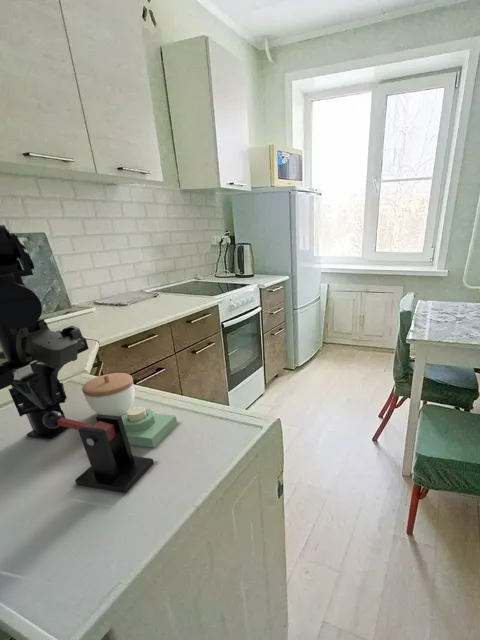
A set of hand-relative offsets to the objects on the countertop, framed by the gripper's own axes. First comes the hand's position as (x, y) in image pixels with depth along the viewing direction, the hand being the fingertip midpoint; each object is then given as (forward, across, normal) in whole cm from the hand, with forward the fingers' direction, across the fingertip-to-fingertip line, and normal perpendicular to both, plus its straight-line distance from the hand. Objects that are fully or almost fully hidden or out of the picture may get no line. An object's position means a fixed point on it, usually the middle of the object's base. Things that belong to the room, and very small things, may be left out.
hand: (48, 406), depth 60 cm
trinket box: (+13, +20, +6) cm, 25 cm away
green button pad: (+13, +13, -6) cm, 19 cm away
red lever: (+5, 0, -5) cm, 7 cm away
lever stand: (+13, 0, -10) cm, 16 cm away
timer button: (+9, +13, -6) cm, 17 cm away
